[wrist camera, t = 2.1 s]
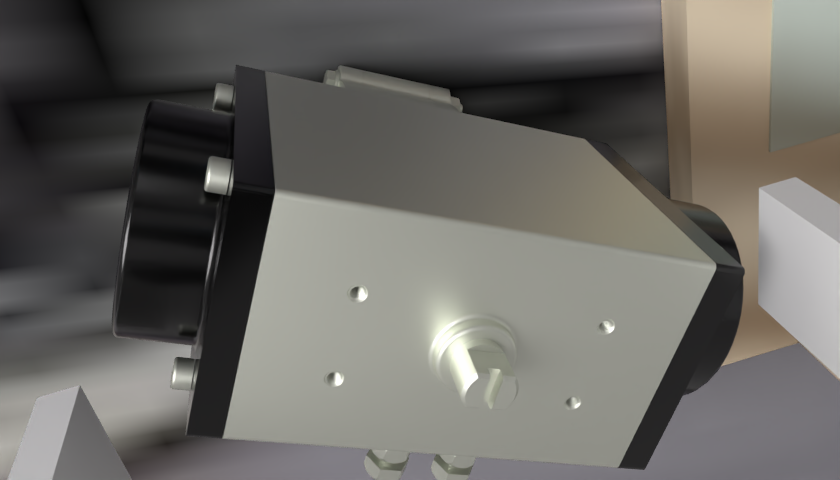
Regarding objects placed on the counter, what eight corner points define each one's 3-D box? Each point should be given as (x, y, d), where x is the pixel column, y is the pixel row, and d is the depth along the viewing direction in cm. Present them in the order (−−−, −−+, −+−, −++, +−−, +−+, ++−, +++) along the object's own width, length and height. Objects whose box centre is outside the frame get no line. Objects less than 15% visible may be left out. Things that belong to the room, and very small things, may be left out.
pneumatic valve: (180, 0, 20) (112, 200, 10) (584, 94, 23) (855, 315, 13) (152, 194, 22) (74, 524, 12) (525, 254, 26) (715, 550, 15)
